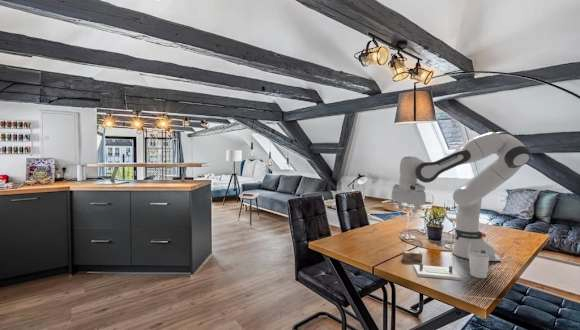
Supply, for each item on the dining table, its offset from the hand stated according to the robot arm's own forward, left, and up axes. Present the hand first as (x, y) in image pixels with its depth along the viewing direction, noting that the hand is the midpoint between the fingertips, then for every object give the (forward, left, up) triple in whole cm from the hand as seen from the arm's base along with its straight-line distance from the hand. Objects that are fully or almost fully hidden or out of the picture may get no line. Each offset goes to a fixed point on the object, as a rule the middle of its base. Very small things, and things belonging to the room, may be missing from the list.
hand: (407, 210), depth 158 cm
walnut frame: (-2, +3, -27) cm, 27 cm away
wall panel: (-11, +17, -27) cm, 33 cm away
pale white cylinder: (-30, +15, -27) cm, 43 cm away
